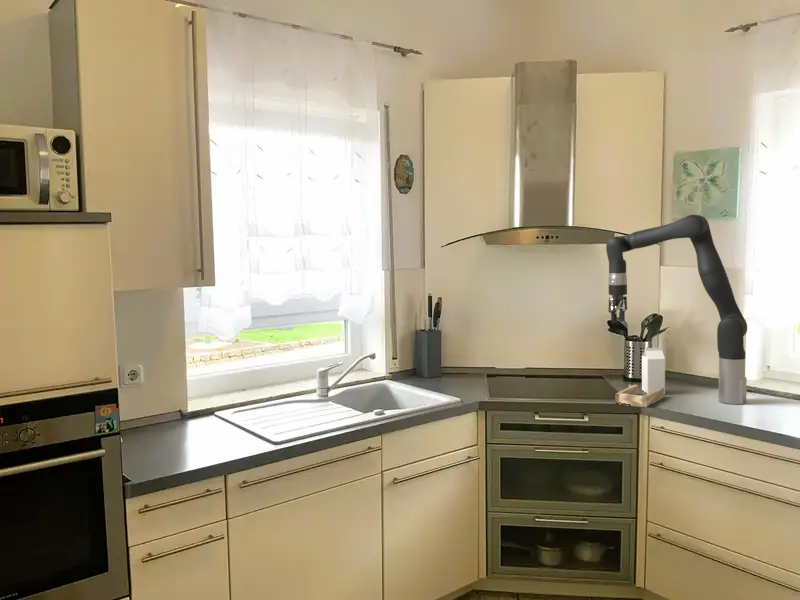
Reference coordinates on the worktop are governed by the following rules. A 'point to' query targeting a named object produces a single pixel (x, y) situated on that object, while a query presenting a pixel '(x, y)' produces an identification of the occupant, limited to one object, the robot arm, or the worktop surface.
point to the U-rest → (636, 400)
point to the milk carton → (653, 369)
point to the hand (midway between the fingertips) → (618, 321)
